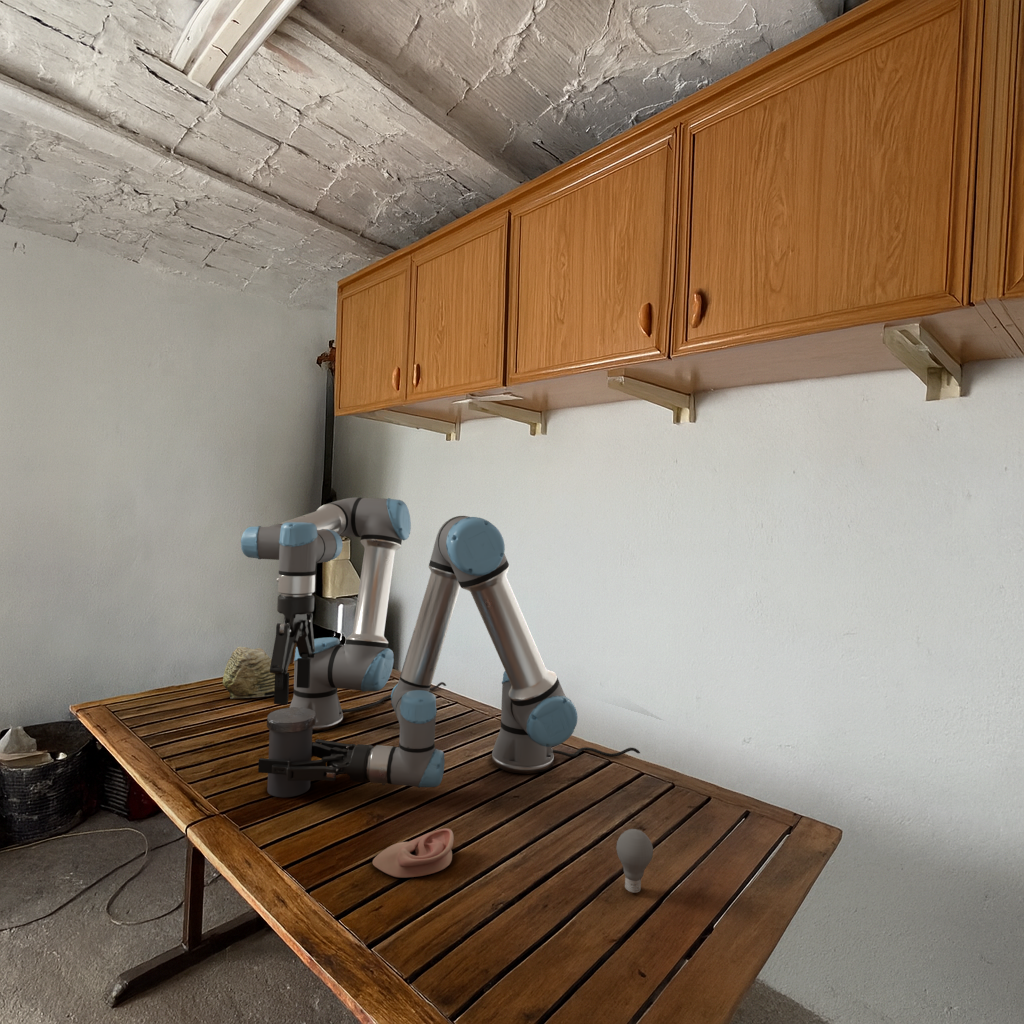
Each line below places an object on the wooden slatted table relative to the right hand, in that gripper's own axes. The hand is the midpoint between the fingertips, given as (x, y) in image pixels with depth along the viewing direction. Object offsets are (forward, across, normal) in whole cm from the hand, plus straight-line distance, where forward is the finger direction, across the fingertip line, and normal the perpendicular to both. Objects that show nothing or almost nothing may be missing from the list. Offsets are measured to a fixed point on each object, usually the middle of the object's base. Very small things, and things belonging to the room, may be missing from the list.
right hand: (269, 756), depth 137 cm
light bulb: (-75, -26, -7) cm, 80 cm away
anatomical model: (-37, -23, -7) cm, 44 cm away
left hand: (-5, 0, +14) cm, 14 cm away
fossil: (+32, +58, -7) cm, 67 cm away
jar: (-5, 0, -7) cm, 8 cm away
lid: (-5, 0, +9) cm, 10 cm away
